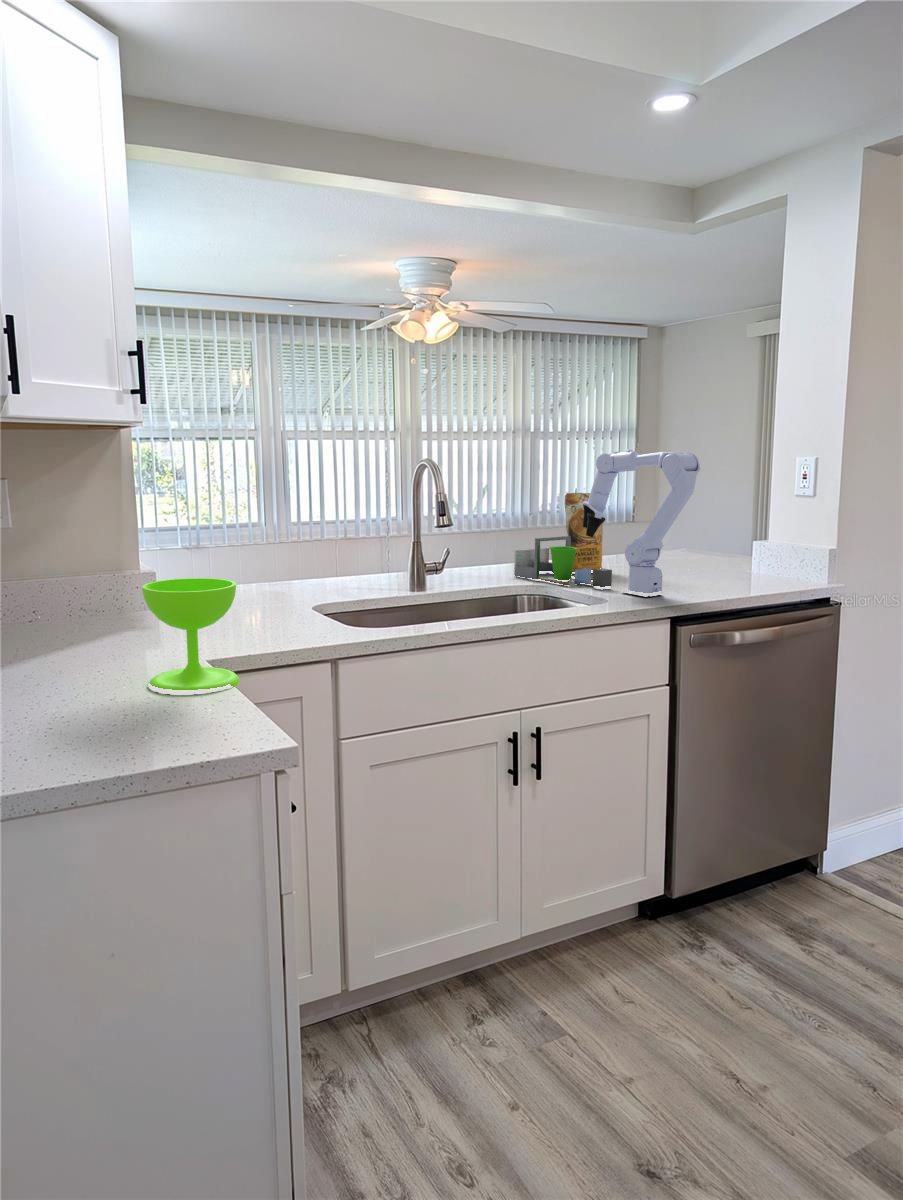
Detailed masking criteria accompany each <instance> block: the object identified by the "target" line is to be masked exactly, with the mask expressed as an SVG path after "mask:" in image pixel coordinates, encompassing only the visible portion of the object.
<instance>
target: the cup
mask: <svg viewBox="0 0 903 1200" xmlns="http://www.w3.org/2000/svg"><path fill="white" fill-rule="evenodd" d="M549 550H550V557H551V563H552V565H553V573H554V575H553V580H554V579H558V580H569V579H570V580H572V579H571V574H572V569H573V564H574V559H575V553H576V550H577V548H576V547H567V546H566V545H565V546H563V545H560V546H559V545H557V546H549Z"/></svg>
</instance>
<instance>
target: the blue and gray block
mask: <svg viewBox="0 0 903 1200" xmlns="http://www.w3.org/2000/svg"><path fill="white" fill-rule="evenodd" d="M612 576H613V570H612V569H610V568H603V567H602V568H601V569H593V575H592V574H591V569H590V568H586V569H576V570H575V579H573V581H574V583H575V584H580V583H585V584H591V585H593V586H600V587H605V586H611V587H612V580H613V579H612ZM592 577H593V582H591V578H592Z"/></svg>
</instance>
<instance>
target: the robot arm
mask: <svg viewBox="0 0 903 1200" xmlns="http://www.w3.org/2000/svg"><path fill="white" fill-rule="evenodd" d="M656 465H657V466H658V469H662V471H663V473H664V476H665V478H666V480H667V481H668V483H669V486H670V488H671V490H670V492H669V494H668V495H667V497H666V498H665V500H664V501H663V503H662V504H661V506H660V508H659V509H658V511H657V512H656V513H655V516H654V517H653V518H652V520H651V522H650V523H649V525H648V526H647V528H646V529H645V531H644V532H643V533H642V534H640V535H639V536H637V537H636V538H635V539H634V541H632V543H630V544H628V545H627V546H626V548H625V551H624V556H625V559H626V561H627V562H628V566H629V571H628V590H630V591H635V592H643V593H653V592H659V591H663V590H662V589H663V588H662V587H663V572H662V570H661V568H659V567H656V566H655V565H656V564H657V561H658V560H659V558H660V556H661V551H662V549H663V547H664V544H663V542H662V541H663V539H664V538H665V536H666V534H667V533H668V531H669V530H670V529H671V527H672V525H673V524H674V522H675V521H676V520H677V518H678V517H679V515H680V514H681V512H682V510H683V509H684V507H685V506H686V504H687V503H688V501H689V500H690V498H691V497H692V495H693V493H694V491H695V486H696V481H697V476H698V475H699V473H700V471H701V466H700V461H699V459H698V457H697V456H696V455H695V454H694V453H690V452H688V453H683V452H674V451H673V452H671V451H670V452H669V451H659V452H658V451H657V452H653V453H652V452H651V453H645V454H640V453H639V452H637V451H634V450H633V449H626V450H625V451H624V452H623V451H622V452H619V451H613V453H606V452H604V453H601V454H600V455H599V456H598V457H597V459H596V461H595V466H596V469H597V470H596V474H595V477H594V481H593V483H592V486H591V489H590V492H589V493H590V496H589V499H588V501H584V502H583V507H584V518H583V527H585V528H587V530H586V536H590V537H593V536H594V534H595V532H596V531H597V529H598V528H599V526H600V525H601V524H602V523H603V524H604V523H605V521H606V518H605V517H603V514H604V512H605V511H606V508H607V507H606V506H607V503H608V500H609V498H610V493H611V490H612V488H613V484H614V482H615V479H616V478H617V476H618V474H619V473H621V472H622V473H624V472H634V471H637V470H639V468H640V467H641V466H642V467H643V466H656ZM628 590H627V591H628Z"/></svg>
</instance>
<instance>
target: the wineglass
mask: <svg viewBox="0 0 903 1200" xmlns="http://www.w3.org/2000/svg"><path fill="white" fill-rule="evenodd" d="M236 588H237V582H236V581H234V580H230V579H224V578H213V577H212V578H211V577H187V578H184V577H183V578H173V579H172V578H171V579H162V580H155V581H152V582H147V583H145V584H143V585H142V586H141V591H142V594H143V595H142V596H143V600H144V601H145V603H146V605H147V607H148V609H149V610H150V611H151V613H152V614H153V615H154V616H155V617H156V618H157V619H158V620H159V621H161V622H162V623H164V624H166V625H167V626H169V627H172V628H176V629H179V630H183V631H184V630H185V631H186V649H187V654H186V655H187V664H186V666H185V667H184V668H178V669H173V670H168V671H164V672H162V673H159V674H157V675H155V676H153V677H152V678H151V679H150V680H149V681H150V682H148V684H149V683H150V684H151V685H152V686H155V687H158V688H163V689H172V690H198V689H210V688H217V687H223V686H226V685H228V684H230V685H231V686H233V687H232V688H235V687H236V686H238V684H239V683H240V680H241V679H240V677H239V676H238V675H237V674H236V673H235V671H232V670H229V669H226V668H222V667H221V668H220V667H212V666H211V667H210V666H206V667H205V666H202V665H201V663H200V658H199V657H200V656H199V654H200V653H199V632H198V630H201V629H204V628H206V627H209V626H211V625H214V624H215V623H217V622H218V621H219V620H220V619H222V618H224V616H225V615H226V614H227V613H228V611H229V610H230V609H231V607H232V604H233V603H234V599H235V597H236Z"/></svg>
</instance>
